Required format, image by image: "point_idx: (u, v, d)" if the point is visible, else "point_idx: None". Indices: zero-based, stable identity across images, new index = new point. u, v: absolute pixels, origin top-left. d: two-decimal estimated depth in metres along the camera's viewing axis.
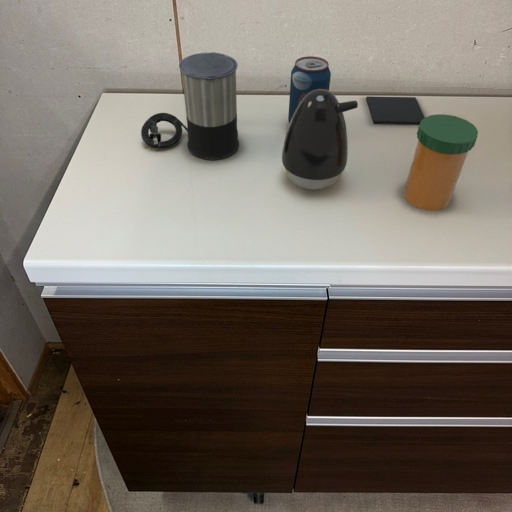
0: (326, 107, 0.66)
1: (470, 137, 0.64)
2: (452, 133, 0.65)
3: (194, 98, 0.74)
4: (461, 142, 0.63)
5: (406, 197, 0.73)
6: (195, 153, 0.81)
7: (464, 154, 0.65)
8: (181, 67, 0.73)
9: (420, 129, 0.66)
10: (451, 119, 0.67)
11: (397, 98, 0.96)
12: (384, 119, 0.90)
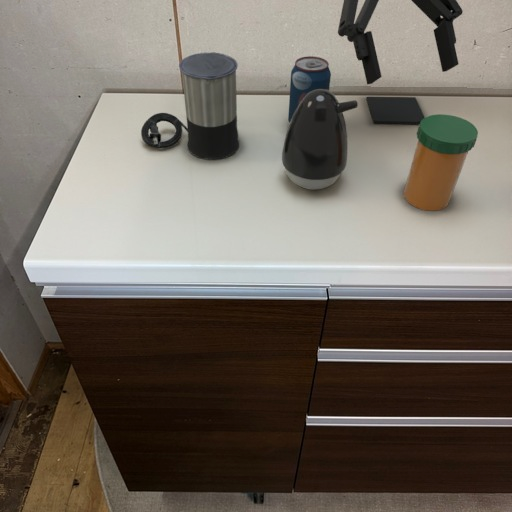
0: (326, 107, 0.66)
1: (470, 137, 0.64)
2: (452, 133, 0.65)
3: (194, 98, 0.74)
4: (461, 142, 0.63)
5: (406, 197, 0.73)
6: (195, 153, 0.81)
7: (464, 154, 0.65)
8: (181, 67, 0.73)
9: (420, 129, 0.66)
10: (451, 119, 0.67)
11: (397, 98, 0.96)
12: (384, 119, 0.90)
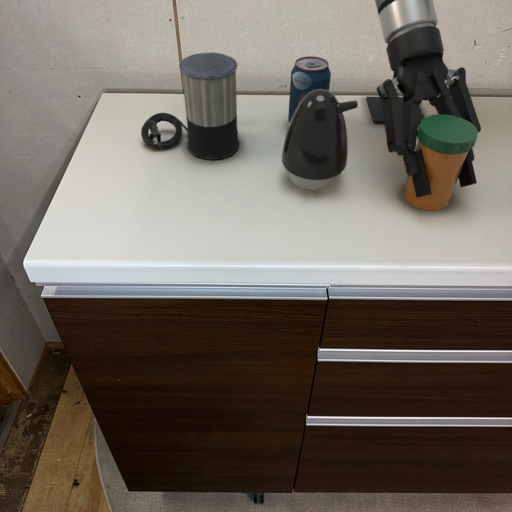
0: (326, 107, 0.66)
1: (470, 137, 0.64)
2: (452, 133, 0.65)
3: (194, 98, 0.74)
4: (461, 142, 0.63)
5: (406, 197, 0.73)
6: (195, 153, 0.81)
7: (464, 154, 0.65)
8: (181, 67, 0.73)
9: (420, 129, 0.66)
10: (451, 119, 0.67)
11: None
12: None
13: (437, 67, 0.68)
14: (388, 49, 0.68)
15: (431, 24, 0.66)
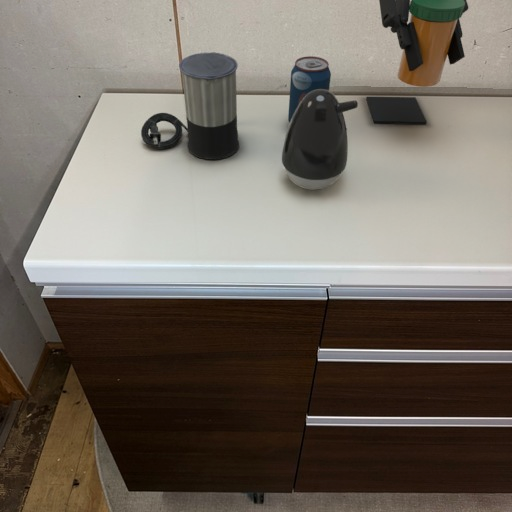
0: (326, 107, 0.66)
1: (458, 5, 0.70)
2: (441, 3, 0.70)
3: (194, 98, 0.74)
4: (449, 8, 0.69)
5: (400, 76, 0.79)
6: (195, 153, 0.81)
7: (452, 24, 0.71)
8: (181, 67, 0.73)
9: (412, 1, 0.71)
10: None
11: (397, 98, 0.96)
12: (384, 119, 0.90)
13: None
14: None
15: None
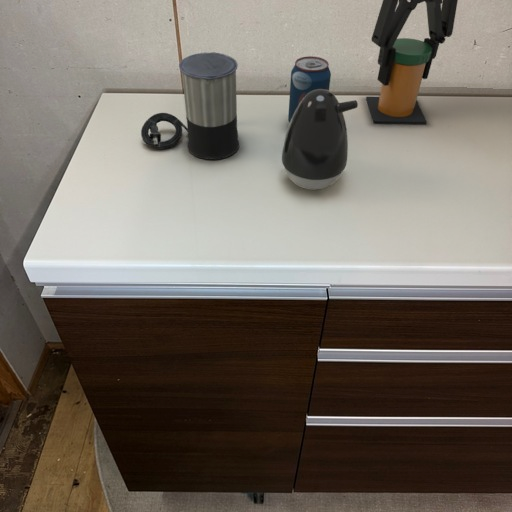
0: (326, 107, 0.66)
1: (425, 51, 0.83)
2: (412, 49, 0.84)
3: (194, 98, 0.74)
4: (418, 54, 0.82)
5: (379, 108, 0.92)
6: (195, 153, 0.81)
7: (421, 66, 0.84)
8: (181, 67, 0.73)
9: None
10: (412, 41, 0.86)
11: None
12: (384, 119, 0.90)
13: None
14: None
15: None
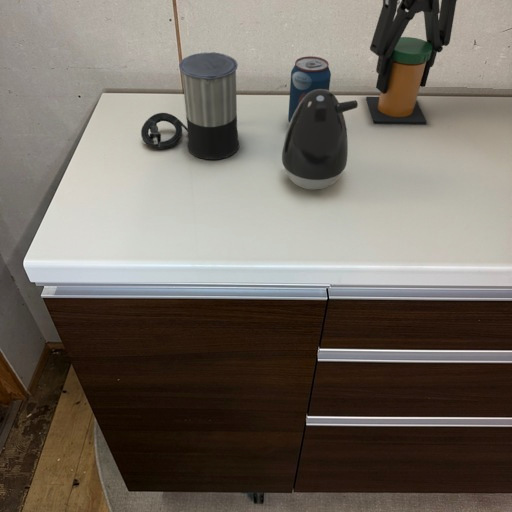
0: (326, 107, 0.66)
1: (423, 41, 0.86)
2: (418, 45, 0.84)
3: (194, 98, 0.74)
4: (430, 45, 0.84)
5: (379, 108, 0.92)
6: (195, 153, 0.81)
7: (421, 66, 0.84)
8: (181, 67, 0.73)
9: (410, 55, 0.82)
10: None
11: None
12: (384, 119, 0.90)
13: None
14: None
15: None
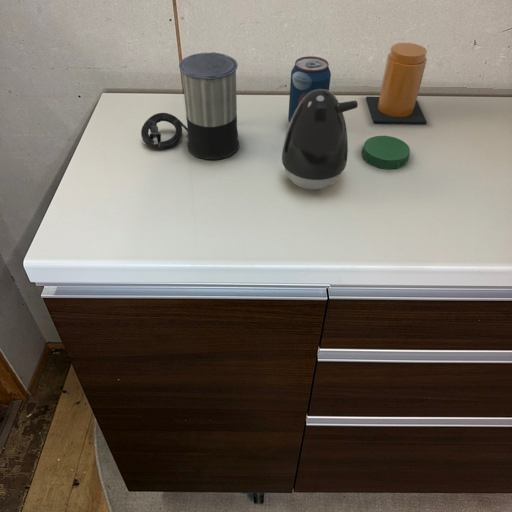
0: (326, 107, 0.66)
1: (400, 141, 0.82)
2: (395, 147, 0.81)
3: (194, 98, 0.74)
4: (408, 147, 0.81)
5: (379, 108, 0.92)
6: (195, 153, 0.81)
7: (421, 66, 0.84)
8: (181, 67, 0.73)
9: (387, 161, 0.78)
10: (372, 142, 0.82)
11: None
12: (384, 119, 0.90)
13: None
14: None
15: None
